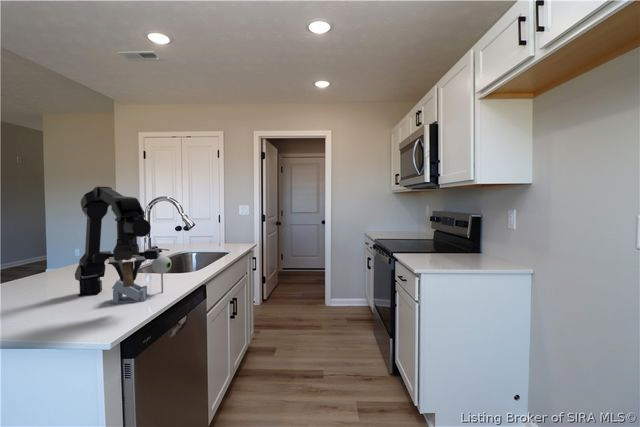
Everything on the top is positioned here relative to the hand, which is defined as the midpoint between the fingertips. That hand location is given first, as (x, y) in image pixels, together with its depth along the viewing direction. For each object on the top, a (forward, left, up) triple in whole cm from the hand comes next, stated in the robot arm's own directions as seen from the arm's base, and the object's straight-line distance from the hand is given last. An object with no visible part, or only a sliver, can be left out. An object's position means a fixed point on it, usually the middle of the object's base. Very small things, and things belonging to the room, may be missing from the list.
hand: (128, 280), depth 109 cm
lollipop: (+8, +19, -11) cm, 23 cm away
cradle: (-3, +13, -10) cm, 17 cm away
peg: (0, 0, -2) cm, 2 cm away
